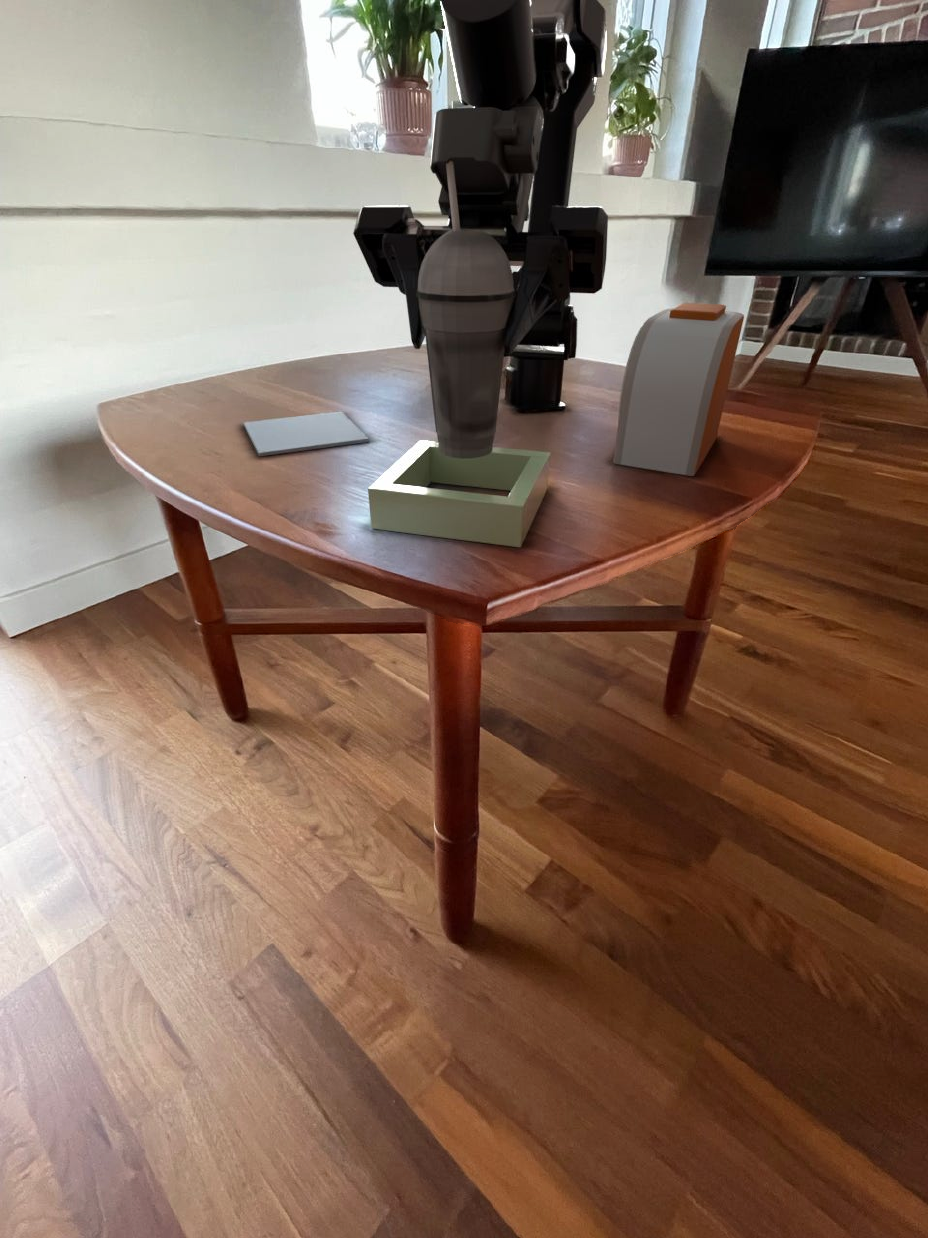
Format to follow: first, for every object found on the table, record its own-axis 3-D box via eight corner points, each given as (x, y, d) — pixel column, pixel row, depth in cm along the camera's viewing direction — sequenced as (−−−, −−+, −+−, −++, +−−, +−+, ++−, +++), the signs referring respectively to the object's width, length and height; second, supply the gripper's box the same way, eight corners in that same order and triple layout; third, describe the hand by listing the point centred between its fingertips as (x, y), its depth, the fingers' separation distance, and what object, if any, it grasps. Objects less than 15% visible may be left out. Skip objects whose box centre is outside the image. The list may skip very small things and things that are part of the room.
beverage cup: (502, 467, 48) (513, 142, 36) (411, 461, 49) (395, 144, 38) (514, 438, 54) (528, 149, 42) (433, 432, 55) (425, 151, 43)
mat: (341, 414, 78) (341, 411, 78) (369, 441, 69) (368, 438, 69) (243, 425, 74) (243, 422, 74) (259, 456, 65) (258, 452, 65)
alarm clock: (645, 424, 74) (665, 299, 67) (718, 434, 71) (749, 303, 63) (609, 462, 63) (629, 317, 56) (694, 476, 60) (727, 324, 52)
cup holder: (421, 475, 60) (419, 439, 58) (547, 488, 57) (550, 451, 56) (371, 528, 50) (367, 488, 48) (520, 548, 48) (523, 505, 46)
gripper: (349, 65, 42) (297, 263, 40) (626, 50, 38) (587, 270, 36) (397, 202, 53) (358, 365, 51) (617, 202, 49) (586, 379, 46)
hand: (460, 347), depth 46 cm, fingers closed on beverage cup, 7 cm apart
